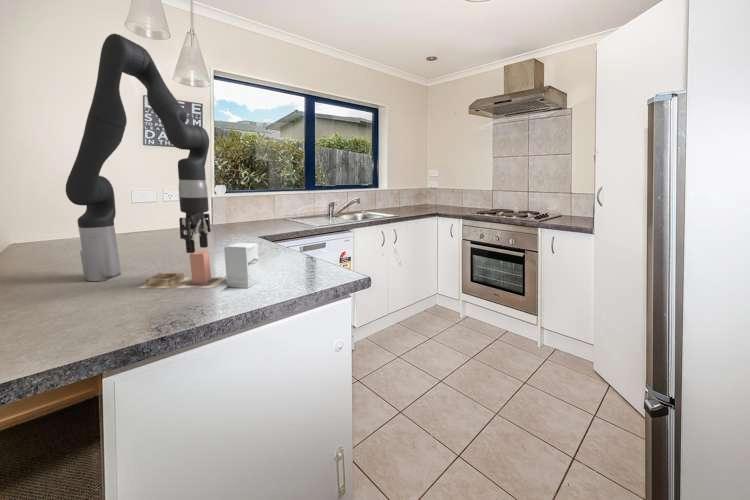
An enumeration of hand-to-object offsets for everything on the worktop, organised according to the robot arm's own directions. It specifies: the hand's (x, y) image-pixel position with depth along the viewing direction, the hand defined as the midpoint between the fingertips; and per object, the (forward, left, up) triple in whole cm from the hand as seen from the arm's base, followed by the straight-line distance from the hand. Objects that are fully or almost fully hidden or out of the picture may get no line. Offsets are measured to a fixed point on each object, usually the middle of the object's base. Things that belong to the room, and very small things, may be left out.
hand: (197, 249), depth 109 cm
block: (0, 0, -10) cm, 10 cm away
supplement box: (+12, +4, -12) cm, 17 cm away
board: (-5, -1, -11) cm, 12 cm away
